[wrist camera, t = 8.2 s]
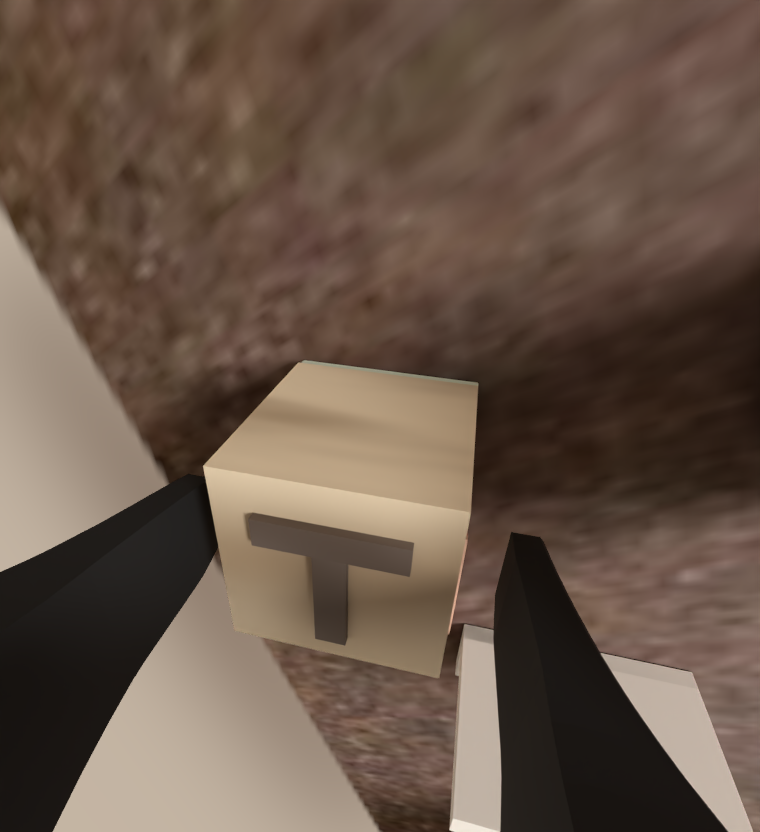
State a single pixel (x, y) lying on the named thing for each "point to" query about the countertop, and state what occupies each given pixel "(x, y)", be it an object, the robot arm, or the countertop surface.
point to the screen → (648, 692)
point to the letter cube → (348, 513)
